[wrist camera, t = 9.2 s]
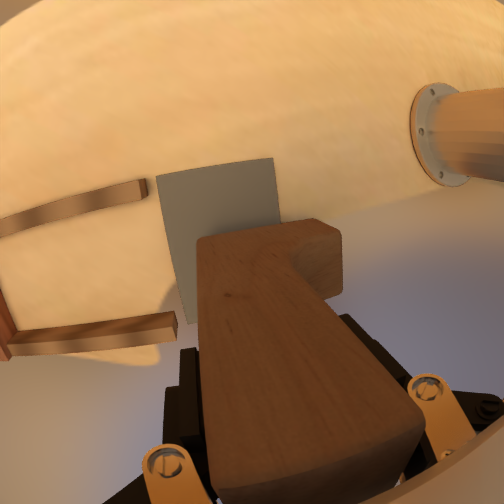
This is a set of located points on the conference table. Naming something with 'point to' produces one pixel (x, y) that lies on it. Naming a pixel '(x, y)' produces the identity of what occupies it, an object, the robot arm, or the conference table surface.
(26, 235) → the conference table surface
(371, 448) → the wooden block
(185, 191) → the mat
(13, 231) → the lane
